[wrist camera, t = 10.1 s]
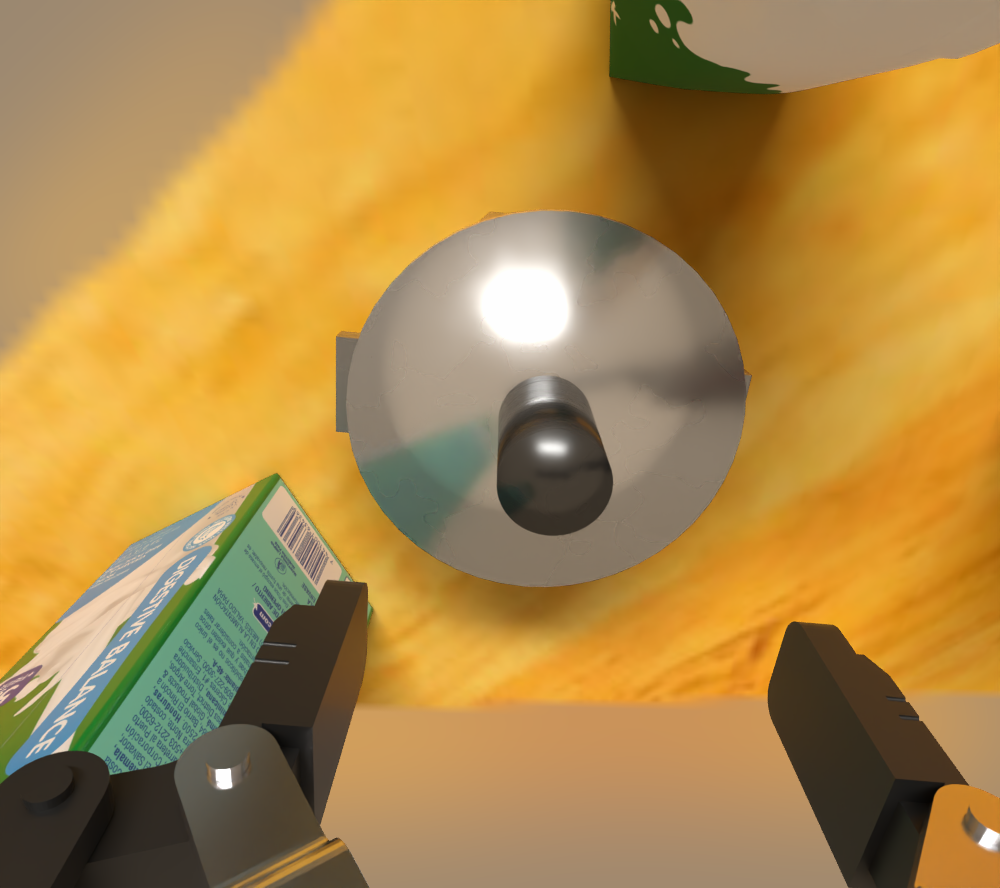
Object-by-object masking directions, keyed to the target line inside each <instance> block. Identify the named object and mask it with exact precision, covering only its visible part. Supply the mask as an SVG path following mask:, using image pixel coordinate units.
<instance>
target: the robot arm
mask: <svg viewBox="0 0 1000 888" xmlns="http://www.w3.org/2000/svg"><path fill="white" fill-rule="evenodd" d="M367 614H368V587H367V583H361V582H350V581H338V580H327V581H326V582H325V584H324V586H323V588H322V590H321V592H320V595H319V597H318V599H317V601H316V603H315V606H310V605H298V604H294V605H293V606H292V607H291V608H289V609H288V610H287V611H286V612H284V613H283V614H282V615H281V616H279V617H278V618H277V619H276V620H275V621H274V622H273V624H272V626H271V628H270V630H269V632H268V634H267V635H266V637H265V639H264V641H263V645H261V647H260V649H259V651H258V653H257V654H256V656H255V660H254V662H252V664H251V666H250V668H249V670H248V672H247V674H246V675H245V677H244V679H243V681H242V683H241V685H240V687H239V689H238V691H237V693H236V695H235V696H234V698H233V700H232V702H231V704H230V706H229V708H228V710H227V712H226V714H225V716H224V717H223V719H222V721H221V723H220V725H219V727H218V728H216V729H214V730H211V731H209V732H207V733H205V734H203V735H202V736H200V737H198V738H197V739H196V740H195V741H193V742H192V743H191V744H190V745H189V746H188V747H187V748H186V749H185V750H184V751H183V753H182V754H181V755H180V757H179V759H178V760H176V761H173V762H170V763H167V764H164V765H160V766H155V767H150V768H145V769H139V770H134V771H128V772H123V773H117V774H112V775H110V773H109V769H108V766H107V764H106V763H105V761H104V760H103V759H102V758H100V757H99V756H97V755H95V754H93V753H90V752H86V751H64V752H58V753H54V754H50V755H47V756H44V757H41V758H39V759H36V760H34V761H32V762H30V763H28V764H26V765H24V766H23V767H21V768H19V769H18V770H16V771H15V772H14V773H12V774H11V775H10V776H8V777H7V778H6V779H5V780H4V781H3V782H2V783H1V784H0V888H369V886H368V884H367V882H366V880H365V878H364V877H363V875H362V873H361V871H360V869H359V867H358V865H357V864H356V862H355V860H354V858H353V856H352V854H351V852H350V851H349V849H348V848H347V846H346V845H345V843H344V842H343V841H342V840H341V839H339V838H335V839H333V840H331V841H329V840H328V839H327V838H326V836H325V835H324V833H323V831H322V829H321V827H320V824H321V820H322V817H323V813H324V810H325V806H326V803H327V800H328V796H329V793H330V789H331V786H332V782H333V779H334V776H335V772H336V769H337V765H338V762H339V759H340V756H341V752H342V749H343V745H344V742H345V739H346V735H347V732H348V728H349V725H350V721H351V718H352V715H353V711H354V708H355V705H356V701H357V698H358V694H359V691H360V688H361V684H362V680H363V676H364V670H365V664H366V655H367ZM768 707H769V713H770V716H771V719H772V722H773V724H774V726H775V728H776V731H777V733H778V735H779V737H780V739H781V741H782V744H783V746H784V748H785V750H786V752H787V755H788V757H789V759H790V761H791V763H792V765H793V768H794V770H795V772H796V774H797V776H798V779H799V781H800V783H801V785H802V787H803V789H804V792H805V794H806V796H807V798H808V800H809V803H810V805H811V807H812V809H813V811H814V814H815V816H816V818H817V820H818V822H819V824H820V826H821V829H822V831H823V833H824V835H825V838H826V840H827V842H828V844H829V846H830V849H831V851H832V853H833V855H834V857H835V859H836V861H837V864H838V866H839V868H840V870H841V872H842V874H843V877H844V879H845V881H846V883H847V886H848V887H849V888H1000V798H998V797H996V796H994V795H992V794H990V793H988V792H986V791H984V790H981V789H978V788H975V787H971V786H969V785H968V783H967V782H966V781H965V779H964V778H963V776H962V775H961V774H960V772H959V771H958V770H957V769H956V767H955V765H954V764H953V763H952V761H951V760H950V758H949V757H948V756H947V754H946V753H945V752H944V751H943V749H942V747H941V746H940V745H939V744H938V742H937V741H936V739H935V738H934V736H933V735H932V734H931V732H930V731H929V730H928V728H927V727H926V725H925V724H924V723H923V722H922V721H919V716H918V714H917V713H916V712H915V710H914V709H913V707H912V706H911V705H910V703H909V702H906V701H905V696H904V695H903V694H902V692H901V691H900V690H899V688H898V687H897V685H896V684H895V683H894V681H893V680H892V679H891V677H890V676H889V675H888V674H887V673H886V672H884V671H883V670H882V669H881V668H879V667H878V666H877V665H876V664H875V663H873V662H872V661H871V660H870V659H868V658H867V657H866V656H865V655H859V654H856V653H855V651H854V650H853V648H852V647H851V646H850V644H849V643H848V641H847V640H846V638H845V637H844V635H843V634H842V633H841V631H840V630H839V629H838V628H837V627H836V626H834V625H827V624H816V623H804V622H792V623H790V624H789V625H788V627H787V629H786V632H785V635H784V638H783V641H782V644H781V648H780V651H779V654H778V657H777V660H776V664H775V667H774V670H773V673H772V677H771V680H770V683H769V688H768Z"/></svg>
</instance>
